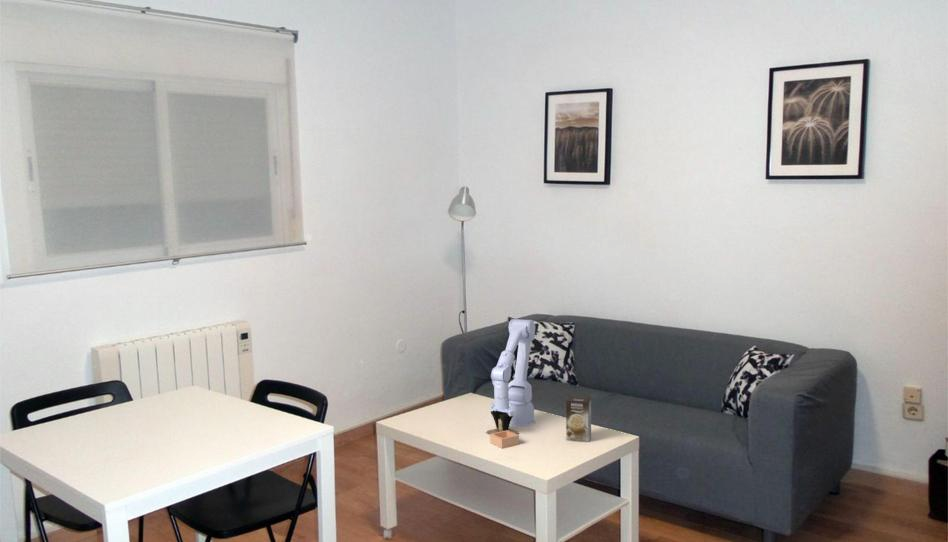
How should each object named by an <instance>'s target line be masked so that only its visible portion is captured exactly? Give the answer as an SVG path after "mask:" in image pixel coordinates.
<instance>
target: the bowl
mask: <svg viewBox="0 0 948 542" xmlns="http://www.w3.org/2000/svg"><path fill="white" fill-rule="evenodd" d="M489 437H490V438H489V441H490V442H489V443H490V444H491V445H493V446H495V447H498V448H500V449H502V450H503V449H506V448H510V447H514V446H517V445H520V434H519V435H517V434H515V433H513V432H510V431H508V430H505V431H501V432H497V433H492V434H490V435H489Z"/></svg>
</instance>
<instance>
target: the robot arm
mask: <svg viewBox="0 0 948 542" xmlns="http://www.w3.org/2000/svg"><path fill="white" fill-rule="evenodd" d="M508 333H509V335H508V336H509V337H508V339H507V342H506V347H505V350H503V351H501V352H500V356H499V358H498V361H497V363H496V366H494V367H493V368H492V369H491V373H490V379H491V382H492V385H493V393H494V394H493V395H494V397H493V399H494V402H491V403H489V408H490V409H491V411H490V415H491V416H492V417H493V420H494V421H493V422H494V423H495V424H494V425H495V429H498V428H499V422H498V419H500V418H501V421H502V428H503V431H505V430H508V429H509V428H510V425H511V426H514V427H516V428H520V427H525V426H528V425H533V424H536V421H535V407H534V405H533V403H532V402H531V401H532V399H533V392H532V387H533V386H532V385H531V384H530V383H529V381H527V377H528V369H529V362H530V353H531V347H532V341H534V339H535V334H536V323H535V322H534V320H533V319H521V318H520V319H518V318H511V319H510V321H509V322H508ZM517 346H518V347H517ZM516 349H517V355H516V356H517V357H515V354H514V353H515V351H516ZM515 358H516V363H515V371H514V378H513V380H511V376H512V365H513V363H514V360H515ZM510 380H511V381H510ZM509 381H510V382H509Z"/></svg>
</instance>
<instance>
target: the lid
mask: <svg viewBox="0 0 948 542" xmlns="http://www.w3.org/2000/svg"><path fill="white" fill-rule="evenodd" d="M498 422H499V428H498V429H497V428H494V429H489V430H487V431H486V432H487V433H489V434H492V433H497V432H501V431H503V428H502V421H501V418H500V419H498ZM508 431H510V432H513V433H515V434H518V433H519V432H518V431H516V430H514V429H512V428H510V427H509V429H508ZM487 433H486V434H487ZM489 434H488V435H489Z"/></svg>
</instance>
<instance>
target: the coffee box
mask: <svg viewBox="0 0 948 542" xmlns="http://www.w3.org/2000/svg"><path fill="white" fill-rule="evenodd" d="M565 414H566V415H565V416H566V417H565V419H566V420H565V421H566V422H565V424H566V425H565V427H566V431H565V432H566V433H565V435H566V438H565V439H566V440H565V441H573V442H582V443H589V442H590V441H591V439H592V398H591V397H583V396H582V397H581V396H580V397H579V396H568V397H567V399H566V400H565Z"/></svg>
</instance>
